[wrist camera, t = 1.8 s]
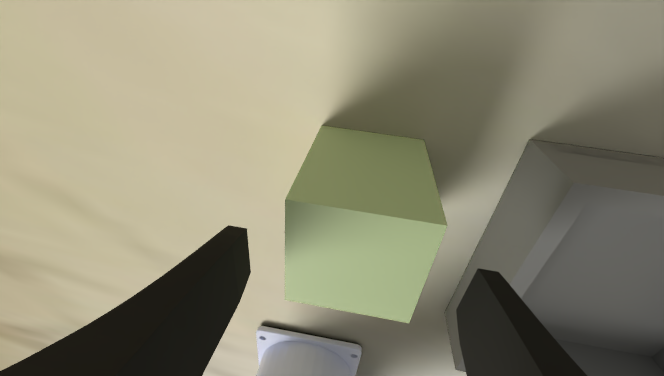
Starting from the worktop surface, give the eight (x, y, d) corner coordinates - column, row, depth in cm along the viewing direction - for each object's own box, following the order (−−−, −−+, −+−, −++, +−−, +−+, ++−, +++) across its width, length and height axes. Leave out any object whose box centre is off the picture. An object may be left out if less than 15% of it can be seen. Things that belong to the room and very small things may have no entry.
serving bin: (644, 349, 18) (694, 416, 15) (444, 312, 19) (455, 369, 16) (848, 183, 12) (1002, 245, 9) (529, 139, 13) (573, 182, 10)
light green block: (401, 219, 16) (409, 323, 11) (315, 206, 16) (284, 299, 11) (423, 139, 13) (447, 225, 8) (321, 125, 14) (285, 199, 9)
